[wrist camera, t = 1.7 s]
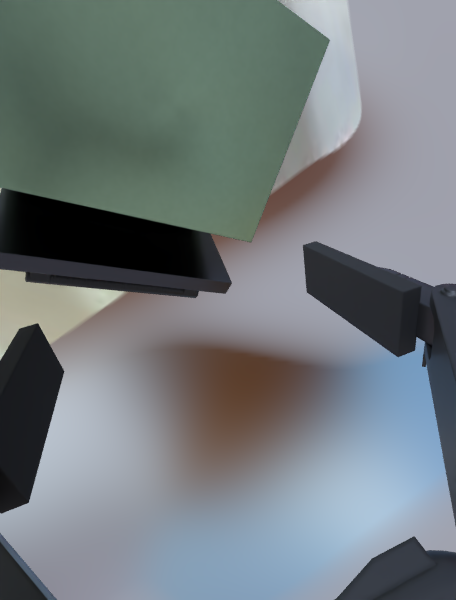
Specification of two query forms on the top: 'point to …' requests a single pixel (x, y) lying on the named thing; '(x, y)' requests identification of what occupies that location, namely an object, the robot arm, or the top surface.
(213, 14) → the oven
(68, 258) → the oven door
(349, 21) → the top surface
